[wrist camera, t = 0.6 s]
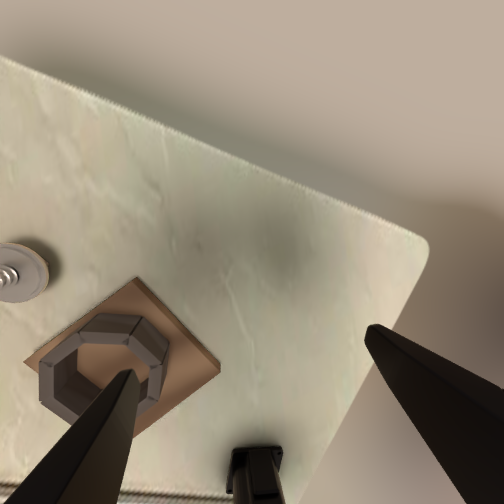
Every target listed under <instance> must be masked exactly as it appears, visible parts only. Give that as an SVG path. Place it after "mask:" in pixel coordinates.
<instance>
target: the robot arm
mask: <svg viewBox="0 0 504 504" xmlns="http://www.w3.org/2000/svg"><path fill="white" fill-rule="evenodd" d="M364 341H365V345H366V347H367V349H368V351H369V353H370V354H371V356H372V358H373V360H374V362H375V364H376V365H377V367H378V369H379V371H380V373H381V374H382V376H383V378H384V379H385V381H386V383H387V385H388V386H389V388H390V389H391V391H392V392H393V394H394V396H395V397H396V398H397V400H398V402H399V403H400V404H401V406H402V408H403V409H404V411H405V412H406V414H407V415H408V416H409V418H410V420H411V421H412V423H413V424H414V426H415V427H416V429H417V430H418V432H419V433H420V435H421V436H422V438H423V439H424V441H425V442H426V444H427V445H428V447H429V448H430V450H431V451H432V453H433V454H434V456H435V457H436V459H437V460H438V462H439V463H440V465H441V466H442V468H443V469H444V471H445V472H446V474H447V475H448V477H449V478H450V479H451V481H452V483H453V484H454V486H455V487H456V489H457V490H458V492H459V493H460V495H461V496H462V498H463V499H464V501H465V502H466V504H504V389H501V388H500V387H498V386H497V385H495V384H493V383H491V382H489V381H487V380H485V379H483V378H481V377H479V376H478V375H476V374H474V373H472V372H470V371H468V370H466V369H464V368H462V367H461V366H458V365H457V364H455V363H453V362H451V361H449V360H447V359H445V358H443V357H441V356H439V355H438V354H436V353H434V352H432V351H430V350H428V349H426V348H424V347H422V346H420V345H419V344H417V343H415V342H413V341H411V340H409V339H407V338H405V337H403V336H401V335H399V334H398V333H396V332H394V331H392V330H390V329H388V328H386V327H384V326H382V325H380V324H373V325H369V326H368V328H367V331H366V335H365V339H364ZM139 395H140V382H139V379H138V377H137V375H136V372H135V370H134V369H126V370H121V371H120V372H118V373H117V374H116V376H115V377H114V378H113V379H112V380H111V381H110V382H109V384H108V385H107V386H106V387H105V388H104V389H103V390H102V392H101V393H100V394H99V395H98V396H97V397H96V398H95V400H94V401H93V402H92V403H91V404H90V405H89V406H88V408H87V409H86V410H85V411H84V412H83V413H82V414H81V416H80V417H79V418H78V419H77V420H76V421H75V422H74V424H73V425H72V426H71V427H70V428H69V429H68V430H67V432H66V433H65V434H64V435H63V436H62V437H61V438H60V440H59V441H58V442H57V443H56V444H55V445H54V446H53V448H52V449H51V450H50V451H49V452H48V453H47V454H46V456H45V457H44V458H43V459H42V460H41V461H40V462H39V463H38V465H37V466H36V467H35V468H34V469H33V470H32V471H31V473H30V474H29V475H28V476H27V477H26V478H25V479H24V481H23V482H22V483H21V484H20V485H19V486H18V487H17V489H16V490H15V491H14V492H13V493H12V494H11V495H10V497H9V498H8V499H7V500H6V501H5V502H4V503H3V504H117V500H118V496H119V492H120V488H121V484H122V480H123V476H124V472H125V468H126V464H127V460H128V456H129V452H130V448H131V444H132V439H133V433H134V427H135V420H136V414H137V407H138V401H139ZM282 456H283V450H282V447H262V448H244V449H235V450H233V451H232V456H231V461H230V467H229V473H228V478H227V484H226V493H227V494H233V499H234V504H286V503H285V499H284V495H283V491H282V486H281V482H280V478H279V474H278V473H279V469H280V464H281V460H282Z"/></svg>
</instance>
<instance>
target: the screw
mask: <svg viewBox="0 0 504 504" xmlns="http://www.w3.org/2000/svg"><path fill="white" fill-rule="evenodd" d="M48 265H49V263H48V262H47V261H45V260H44V259H43V258H41V257H40V256H39V255H38V254H37V253H36V252H34V251H33V250H31V249H30V248H28V247H25V246H23V245H19V244H15V243H0V301H3V302H9V303H20V302H25V301H28V300H30V299H33V298H35V297H37V296H38V295H39V294H41V293H42V292H43V290H44V289H45V288H46V286H47V284H48V279H49V273H48Z"/></svg>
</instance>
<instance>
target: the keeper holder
mask: <svg viewBox="0 0 504 504" xmlns="http://www.w3.org/2000/svg"><path fill="white" fill-rule="evenodd" d="M24 363H25V364H26V365H28V366H29V367H30V368H32V369H33V370H34V371H36V372H37V373H38V374H39V401H42V402H41V404H42V405H44V406H45V407H46V408H48V409H49V410H51V411H52V412H53V413H55V414H56V415H58V416H59V417H60V418H62V419H63V420H65V421H66V422H67V423H69V424H70V425H73V424H74V422H75V421H76V420H77V419H78V418H79V417H80V416H81V414H82V413H83V412H84V411H85V410H86V409H87V408H88V406H89V405H90V404H91V403H92V402H93V401H94V400H95V398H96V397H97V396H98V395H99V394H100V393H101V392H102V390H103V389H104V388H105V387H106V386H107V385H108V384H109V382H110V381H111V380H112V379H113V378H114V377H115V376H116V374H117V373H118V372H120V371H121V370H126V369H134V370H135V372H136V375H137V377H138V379H139V382H140V395H139V401H138V407H137V414H136V420H135V427H134V433H133V438H134V437H136V436H137V435H138V434H140V433H141V432H142V431H144V430H145V429H146V428H147V427H149V426H150V425H151V424H153V423H154V422H155V421H157V420H158V419H159V418H161V417H162V416H163V415H165V414H166V413H167V412H169V411H170V410H171V409H173V408H174V407H175V406H177V405H178V404H179V403H181V402H182V401H183V400H185V399H186V398H187V397H189V396H190V395H191V394H192V393H194V392H195V391H196V390H198V389H199V388H200V387H202V386H203V385H204V384H206V383H207V382H208V381H210V380H211V379H212V378H214V377H215V376H216V375H218V374H219V373H220V372H221V371H220V363H219V362H218V361H217V360H216V359H215V358H214V357H213V356H212V355H211V354H210V353H209V352H208V351H207V350H206V349H205V348H204V347H203V346H202V345H201V344H200V343H199V342H198V341H197V339H196V338H195V337H194V336H193V335H192V334H191V333H190V332H189V331H188V330H187V329H186V328H185V327H184V326H183V325H182V324H181V323H180V322H179V321H178V320H177V319H176V318H175V317H174V315H173V314H172V313H171V312H170V311H169V310H168V309H167V308H166V307H165V306H164V305H163V304H162V303H161V302H160V301H159V300H158V299H157V298H156V297H155V296H154V295H153V294H152V293H151V292H150V290H149V289H148V288H147V287H146V286H145V285H144V284H143V283H142V282H141V281H140V280H139V279H138V278H137V277H136V278H135V279H133V280H132V281H131V282H129V283H128V284H127V285H125V286H124V287H123V288H121V289H120V290H119V291H117V292H116V293H115V294H113V295H112V296H111V297H109V298H108V299H106V300H105V301H104V302H102V303H101V304H100V305H98V306H97V307H96V308H94V309H93V310H92V311H90V312H89V313H88V314H86V315H85V316H84V317H82V318H81V319H80V320H78V321H77V322H75V323H74V324H73V325H71V326H70V327H69V328H67V329H66V330H65V331H63V332H62V333H61V334H59V335H58V336H57V337H55V338H54V339H53V340H51V341H50V342H49V343H47V344H46V345H44V346H43V347H42V348H40V349H39V350H38V351H36V352H35V353H34V354H32V355H31V356H30V357H29V358H27V359H26V360H25V361H24Z"/></svg>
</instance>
